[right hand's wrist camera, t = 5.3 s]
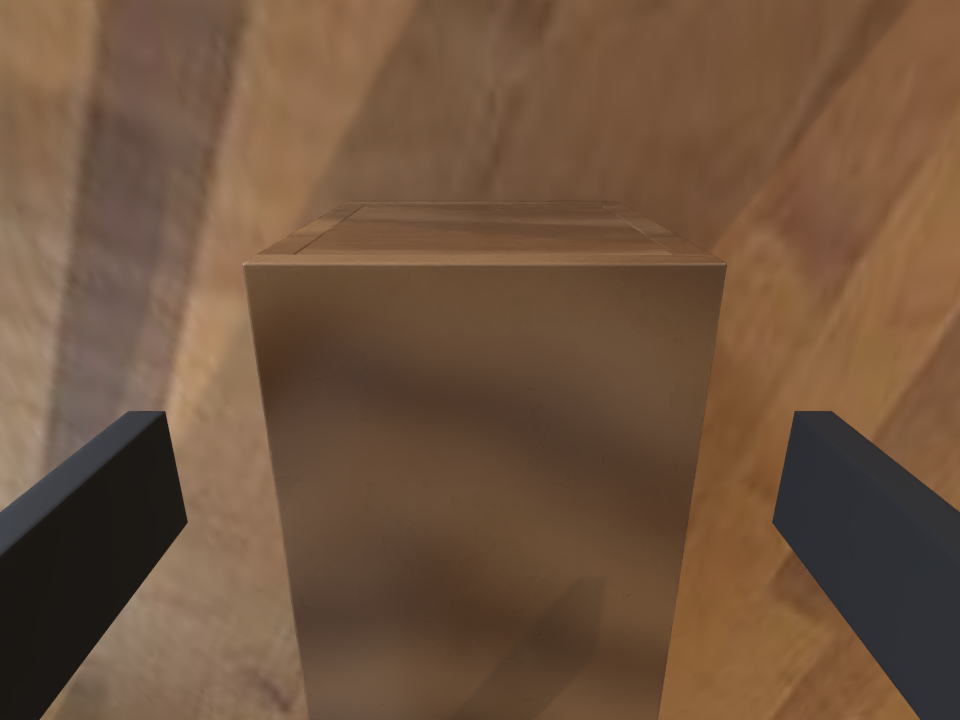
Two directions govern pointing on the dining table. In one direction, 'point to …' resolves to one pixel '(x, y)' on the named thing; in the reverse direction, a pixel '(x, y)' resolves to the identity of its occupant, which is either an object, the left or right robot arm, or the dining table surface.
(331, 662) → the cabinet
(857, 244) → the dining table surface
